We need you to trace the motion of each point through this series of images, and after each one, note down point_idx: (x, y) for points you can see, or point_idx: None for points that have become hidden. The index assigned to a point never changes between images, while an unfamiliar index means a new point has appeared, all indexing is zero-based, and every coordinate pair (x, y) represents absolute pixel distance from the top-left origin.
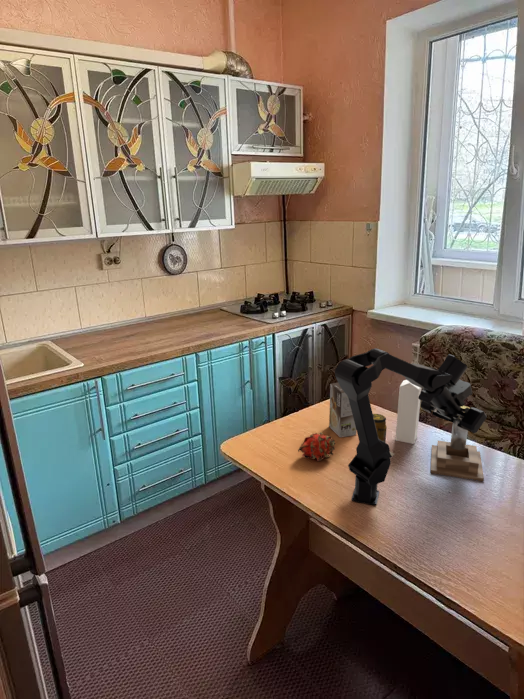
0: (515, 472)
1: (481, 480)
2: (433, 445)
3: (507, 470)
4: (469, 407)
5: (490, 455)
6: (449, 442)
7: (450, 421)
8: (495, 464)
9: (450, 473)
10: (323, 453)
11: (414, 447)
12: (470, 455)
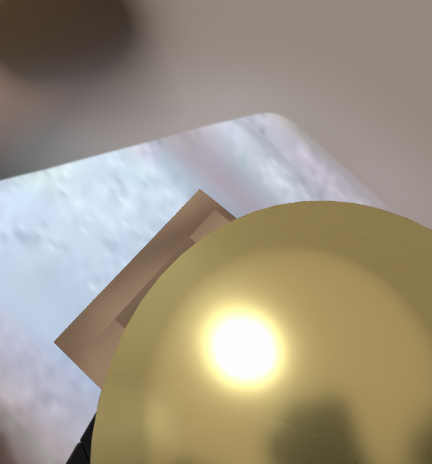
0: (342, 176)
1: None
2: (62, 338)
3: (324, 189)
4: (316, 205)
5: (218, 162)
6: (130, 307)
7: None
8: (277, 195)
9: None
10: None
11: (12, 425)
12: None
